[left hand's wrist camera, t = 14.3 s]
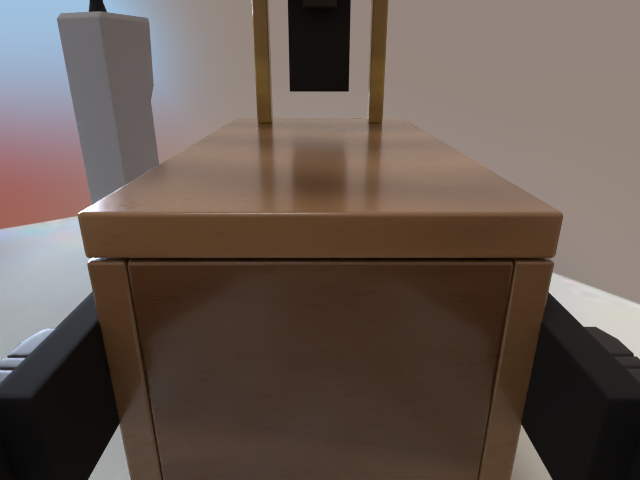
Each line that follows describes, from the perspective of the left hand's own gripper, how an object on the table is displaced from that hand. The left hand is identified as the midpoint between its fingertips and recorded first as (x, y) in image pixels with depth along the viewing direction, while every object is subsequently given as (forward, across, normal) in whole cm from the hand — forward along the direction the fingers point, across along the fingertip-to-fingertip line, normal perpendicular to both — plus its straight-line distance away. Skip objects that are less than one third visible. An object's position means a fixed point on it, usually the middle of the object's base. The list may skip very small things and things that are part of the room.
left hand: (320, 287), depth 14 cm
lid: (+5, 0, +3) cm, 5 cm away
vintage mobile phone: (+24, -16, -7) cm, 29 cm away
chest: (+4, 0, -7) cm, 8 cm away
